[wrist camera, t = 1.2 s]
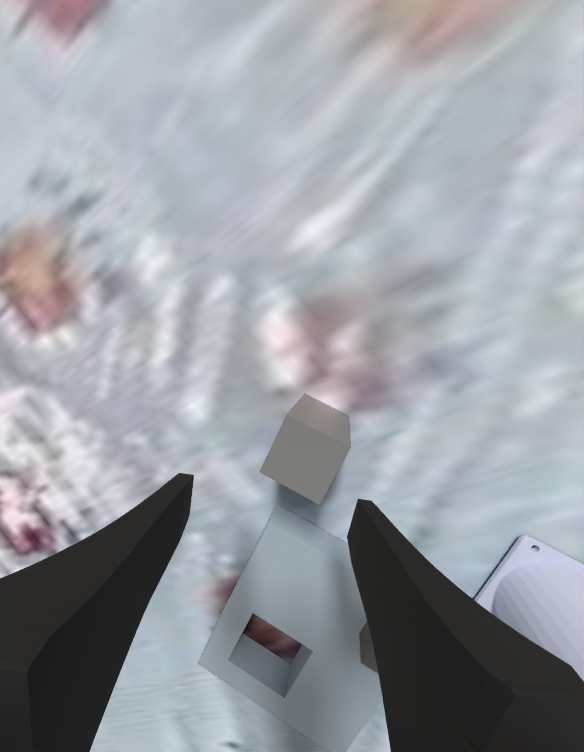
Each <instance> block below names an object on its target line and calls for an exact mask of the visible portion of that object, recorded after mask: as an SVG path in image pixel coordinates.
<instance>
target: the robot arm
mask: <svg viewBox="0 0 584 752" xmlns="http://www.w3.org/2000/svg"><path fill="white" fill-rule="evenodd" d="M193 479H194V475H190V474H183V473H179V474H177V475H176V476H175V477H173V478H172V479H171V480H170V481H168V482H167V483H166V484H165V485H163V486H162V487H161V488H160V489H158V490H157V491H156V492H155V493H153V494H152V495H151V496H149V497H148V498H147V499H145V500H144V501H143V502H141V503H140V504H139V505H137V506H136V507H134V508H133V509H132V510H130V511H129V512H127V513H126V514H124V515H123V516H121V517H120V518H118V519H117V520H115V521H114V522H112V523H111V524H109V525H108V526H106V527H104V528H103V529H101V530H99V531H98V532H96V533H94V534H93V535H91V536H89V537H87V538H85V539H84V540H82V541H80V542H78V543H76V544H74V545H72V546H70V547H68V548H66V549H64V550H62V551H60V552H58V553H56V554H54V555H52V556H50V557H48V558H46V559H44V560H42V561H40V562H37V563H35V564H33V565H31V566H29V567H26V568H24V569H22V570H19V571H17V572H15V573H12V574H10V575H8V576H5V577H3V578H0V752H89V751H90V749H91V746H92V743H93V741H94V738H95V735H96V733H97V730H98V728H99V725H100V722H101V720H102V717H103V715H104V712H105V709H106V707H107V704H108V702H109V699H110V696H111V694H112V691H113V689H114V686H115V683H116V681H117V678H118V676H119V673H120V671H121V668H122V666H123V663H124V661H125V658H126V656H127V653H128V651H129V648H130V646H131V643H132V641H133V639H134V636H135V634H136V631H137V629H138V626H139V624H140V621H141V619H142V617H143V614H144V612H145V610H146V608H147V606H148V603H149V601H150V599H151V597H152V595H153V593H154V591H155V589H156V587H157V585H158V583H159V581H160V579H161V577H162V575H163V573H164V571H165V569H166V567H167V565H168V563H169V561H170V559H171V557H172V555H173V553H174V551H175V549H176V547H177V545H178V543H179V541H180V539H181V537H182V534H183V531H184V529H185V526H186V523H187V521H188V518H189V515H190V506H191V497H192V488H193ZM347 539H348V546H349V552H350V558H351V563H352V567H353V571H354V575H355V578H356V582H357V586H358V589H359V593H360V597H361V600H362V604H363V607H364V611H365V615H366V618H367V622H368V626H369V630H370V634H371V638H372V643H373V648H374V653H375V659H376V664H377V669H378V675H379V680H380V686H381V692H382V698H383V703H384V709H385V715H386V722H387V728H388V735H389V741H390V748H391V752H584V564H582V563H580V562H578V561H576V560H574V559H572V558H570V557H568V556H566V555H564V554H562V553H560V552H558V551H557V550H555V549H553V548H551V547H549V546H547V545H545V544H543V543H541V542H539V541H537V540H535V539H533V538H531V537H529V536H521V537H519V538H518V540H517V541H516V543H515V544H514V545H513V547H512V548H511V549H510V551H509V552H508V554H507V555H506V556H505V558H504V559H503V561H502V562H501V563H500V565H499V566H498V568H497V569H496V570H495V572H494V573H493V574H492V576H491V577H490V579H489V580H488V581H487V583H486V584H485V586H484V587H483V588H482V590H481V591H480V593H479V594H478V595H477V597H476V598H475V599H474V600H473V599H472V598H471V597H469V596H468V595H467V594H466V593H464V592H463V591H462V590H461V589H460V588H458V587H457V586H456V585H455V584H454V583H452V582H451V581H450V580H449V579H448V578H447V577H446V576H444V575H443V574H442V573H441V572H440V571H439V570H438V569H436V568H435V567H434V566H433V565H432V564H431V563H430V562H429V561H428V560H427V559H426V558H425V557H424V556H423V555H422V554H421V553H420V552H419V551H418V550H417V549H416V548H415V547H414V546H413V545H412V544H411V543H410V542H409V541H408V540H407V539H406V538H405V537H404V536H403V535H402V534H401V533H400V531H399V530H398V529H397V528H396V527H395V526H394V525H393V524H392V523H391V522H390V520H389V519H388V518H387V517H386V516H385V515H384V514H383V513H382V512H381V510H380V509H379V508H378V507H377V506H376V505H375V504H374V503H373V502H372V501H369V500H362V499H358V501H357V504H356V508H355V511H354V515H353V518H352V522H351V525H350V529H349V532H348V535H347ZM534 545H536V546H535V547H534V548H531V547H532V546H534Z"/></svg>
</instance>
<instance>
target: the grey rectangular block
mask: <svg viewBox="0 0 584 752" xmlns="http://www.w3.org/2000/svg"><path fill="white" fill-rule="evenodd" d="M350 448H351V442H350V425H349V415H347V414H345V413H343V412H341V411H339V410H337V409H335V408H333V407H331V406H329V405H327V404H325V403H323V402H321V401H319V400H317V399H315V398H313V397H311V396H309V395H307V394H304V395H303V396H302V397H301V398H300V400H299V401H298V402H297V403H296V404H295V405H294V407H293V408H292V409H291V410H290V411H289V412H288V414H287V415H286V417H285V419H284V421H283V423H282V426H281V428H280V430H279V432H278V434H277V436H276V438H275V440H274V442H273V444H272V447H271V449H270V451H269V453H268V455H267V457H266V459H265V461H264V463H263V466H262V468H261V470H260V472H261V473H262V474H264V475H266V476H268V477H270V478H271V479H273V480H275V481H277V482H279V483H280V484H282V485H284V486H286V487H288V488H289V489H291V490H293V491H295V492H297V493H298V494H300V495H302V496H304V497H306V498H307V499H309V500H311V501H313V502H315V503H316V504H318V505H320V504H321V502H322V500H323V498H324V496H325V494H326V492H327V490H328V489H329V487H330V485H331V483H332V481H333V479H334V477H335V476H336V474H337V472H338V470H339V468H340V466H341V464H342V463H343V461H344V459H345V457H346V455H347V453H348V451H349V450H350Z"/></svg>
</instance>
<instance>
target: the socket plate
mask: <svg viewBox="0 0 584 752" xmlns="http://www.w3.org/2000/svg"><path fill="white" fill-rule="evenodd" d="M253 613H254V614H255V615H257V616H258V617H260V618H262V619H263V620H265V621H266V622H268V623H269V624H271V625H273V626H274V627H276V628H277V629H279V630H280V631H282V632H284V633H285V634H287V635H288V636H290V637H292V638H293V639H295V640H296V641H298V642H299V643H301V644H302V646H301V647H300V649H299V651H298V652H297V654H296V656H295V657H294V659H293V661H292V663H291V664H289V663H288V662H286V661H285V660H283V659H282V658H280V657H279V656H277V655H275V654H274V653H272V652H271V651H269V650H268V649H266V648H265V647H263V646H262V645H260V644H258V643H257V642H255V641H254V640H252V639H251V638H249V637H248V636H246V635H245V634H243V631H244V629H245V627H246V625H247V623H248V621H249V619H250V617H251V616H252V614H253ZM198 664H199V665H201V666H202V667H204V668H205V669H206V670H208V671H209V672H211V673H212V674H214V675H215V676H217V677H218V678H220V679H221V680H223V681H224V682H226V683H227V684H229V685H230V686H231V687H233V688H234V689H236V690H237V691H239V692H240V693H242V694H243V695H245V696H246V697H248V698H249V699H251V700H252V701H254V702H255V703H256V704H258V705H259V706H261V707H262V708H264V709H265V710H267V711H268V712H270V713H271V714H273V715H274V716H276V717H277V718H279V719H280V720H281V721H283V722H284V723H286V724H287V725H289V726H290V727H292V728H293V729H295V730H296V731H298V732H299V733H301V734H302V735H304V736H305V737H306V738H308V739H309V740H311V741H312V742H314V743H315V744H317V745H318V746H320V747H321V748H323V749H324V750H326V751H327V752H346V751H347V749H348V748H349V747H350V745H351V744H352V742H353V741H354V739H355V738H356V737H357V735H358V734H359V732H360V731H361V729H362V728H363V727H364V725H365V724H366V722H367V721H368V719H369V718H370V717H371V715H372V714H373V712H374V711H375V709H376V708H377V707H378V705H379V704H380V702H381V701H382V699H383V698H382V692H381V686H380V680H379V675H378V669H377V664H376V659H375V653H374V648H373V643H372V638H371V634H370V630H369V626H368V622H367V618H366V615H365V611H364V607H363V604H362V600H361V597H360V593H359V589H358V586H357V582H356V578H355V575H354V571H353V567H352V563H351V558H350V552H349V546H348V544H347V543H346V542H344V541H342V540H340V539H338V538H337V537H335V536H333V535H331V534H330V533H328V532H326V531H324V530H323V529H321V528H319V527H317V526H315V525H314V524H312V523H310V522H308V521H307V520H305V519H303V518H301V517H300V516H298V515H296V514H294V513H293V512H291V511H289V510H287V509H285V508H284V507H282V506H280V505H278V504H276V506H275V508H274V510H273V512H272V514H271V516H270V518H269V520H268V522H267V524H266V526H265V528H264V530H263V532H262V534H261V536H260V538H259V540H258V542H257V544H256V546H255V548H254V550H253V552H252V554H251V556H250V558H249V560H248V562H247V564H246V566H245V568H244V570H243V572H242V574H241V576H240V578H239V580H238V582H237V584H236V586H235V588H234V590H233V592H232V594H231V596H230V598H229V600H228V602H227V604H226V606H225V608H224V610H223V612H222V614H221V616H220V618H219V620H218V622H217V624H216V626H215V628H214V630H213V632H212V634H211V636H210V638H209V640H208V642H207V644H206V646H205V649H204V651H203V653H202V655H201V657H200V659H199V662H198Z"/></svg>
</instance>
